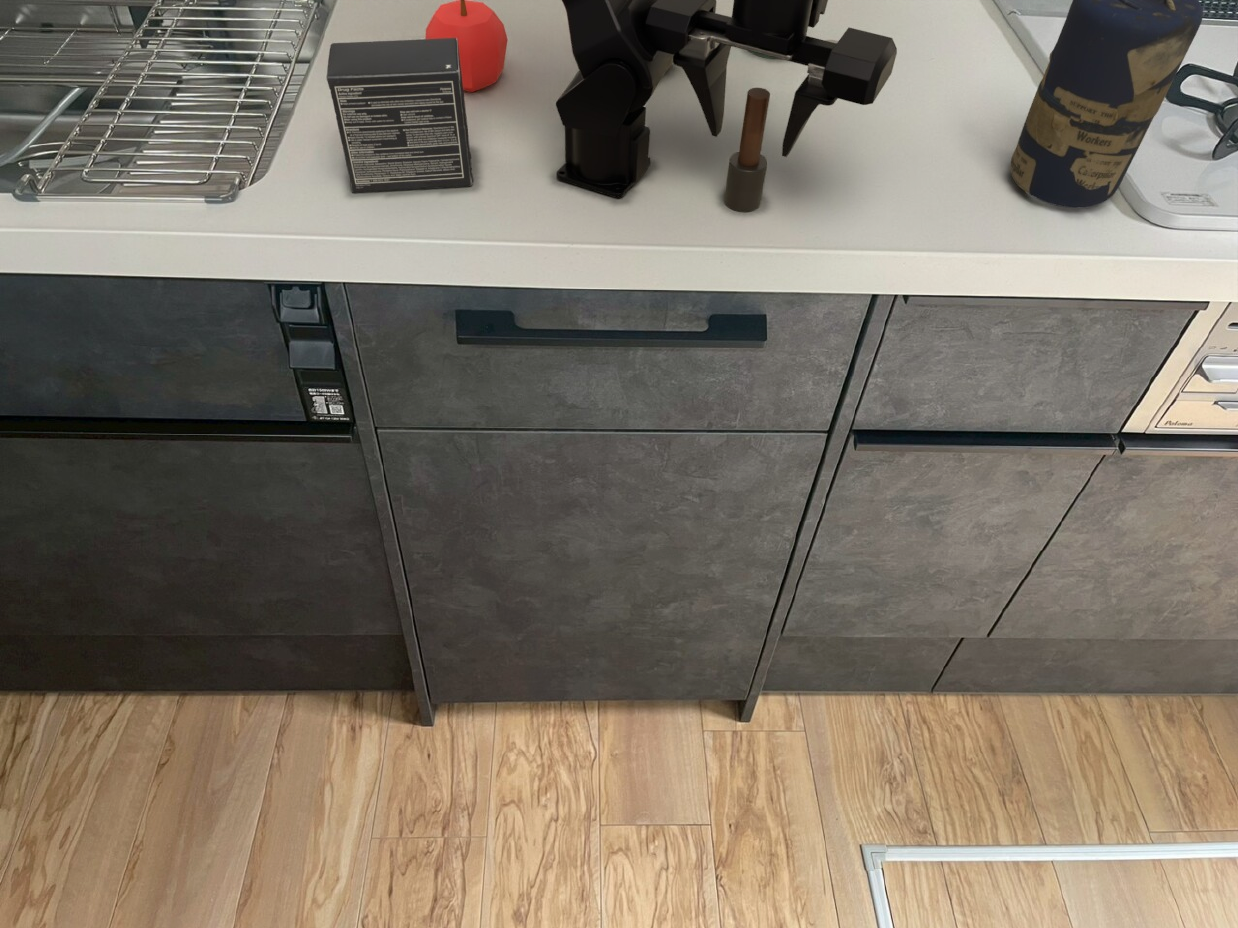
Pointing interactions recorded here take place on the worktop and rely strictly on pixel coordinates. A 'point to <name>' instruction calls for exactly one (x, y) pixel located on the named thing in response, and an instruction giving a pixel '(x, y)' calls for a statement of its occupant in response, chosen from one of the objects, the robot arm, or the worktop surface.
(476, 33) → the apple
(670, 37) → the robot arm
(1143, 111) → the canister
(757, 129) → the brown grey stepped cylinder
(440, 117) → the small box
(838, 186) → the worktop surface
